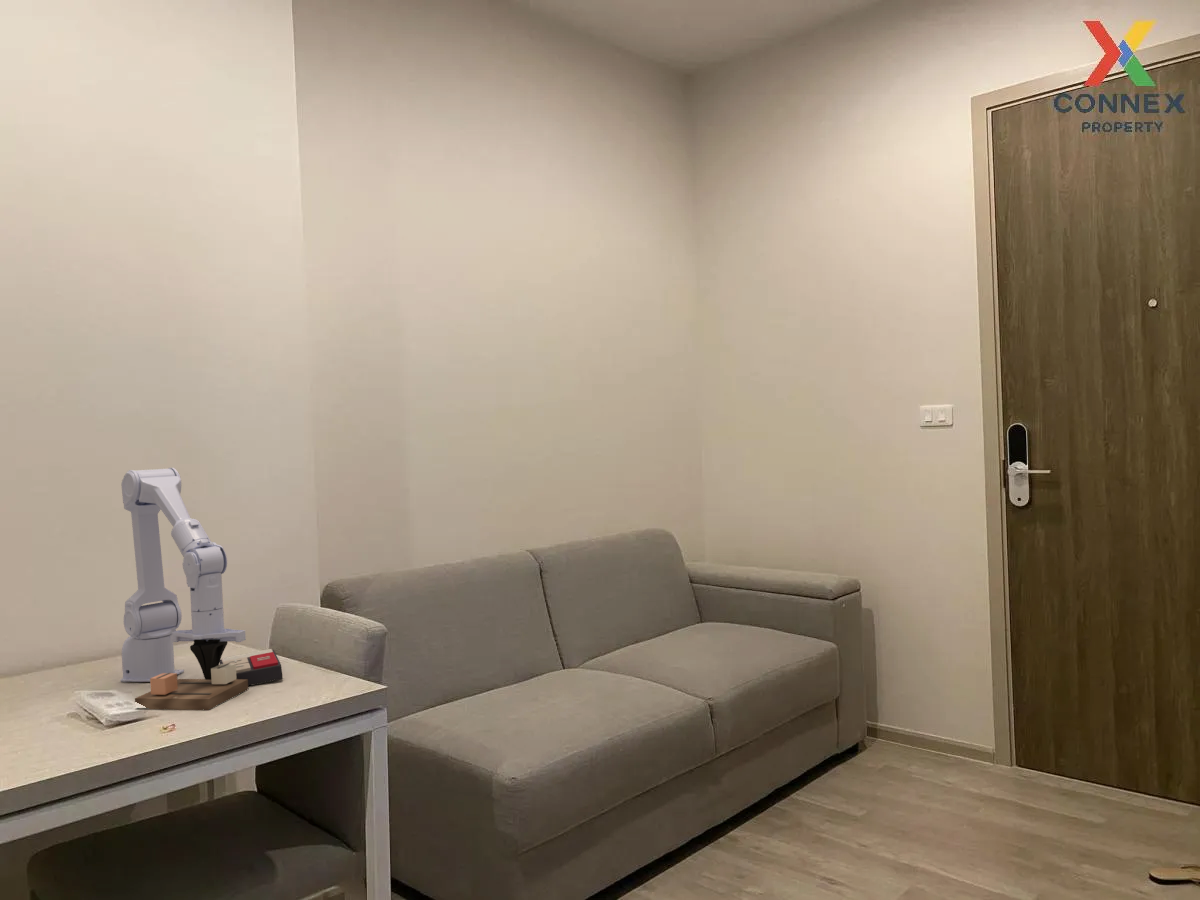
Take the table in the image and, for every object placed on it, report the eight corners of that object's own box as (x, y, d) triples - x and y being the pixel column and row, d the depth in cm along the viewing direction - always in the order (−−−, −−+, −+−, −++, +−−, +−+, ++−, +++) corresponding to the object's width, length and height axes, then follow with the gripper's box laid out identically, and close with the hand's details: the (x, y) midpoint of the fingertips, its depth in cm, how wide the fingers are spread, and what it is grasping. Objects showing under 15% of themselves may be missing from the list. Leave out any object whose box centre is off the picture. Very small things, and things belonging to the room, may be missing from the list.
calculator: (222, 672, 178) (218, 656, 191) (224, 693, 178) (221, 675, 191) (281, 661, 182) (273, 645, 196) (283, 682, 182) (275, 665, 196)
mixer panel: (135, 709, 167) (134, 697, 167) (179, 688, 180) (178, 678, 180) (208, 710, 165) (208, 698, 165) (248, 689, 178) (247, 678, 178)
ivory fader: (211, 684, 174) (210, 668, 174) (222, 678, 177) (221, 663, 177) (225, 684, 173) (225, 668, 173) (236, 679, 177) (235, 663, 177)
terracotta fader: (151, 694, 168) (150, 677, 168) (163, 688, 172) (162, 672, 172) (165, 694, 168) (164, 678, 167) (177, 689, 171) (176, 672, 171)
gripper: (160, 613, 173) (163, 683, 173) (229, 612, 170) (233, 684, 170) (183, 605, 180) (186, 673, 180) (250, 605, 177) (253, 674, 177)
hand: (210, 678), depth 176 cm, fingers closed
